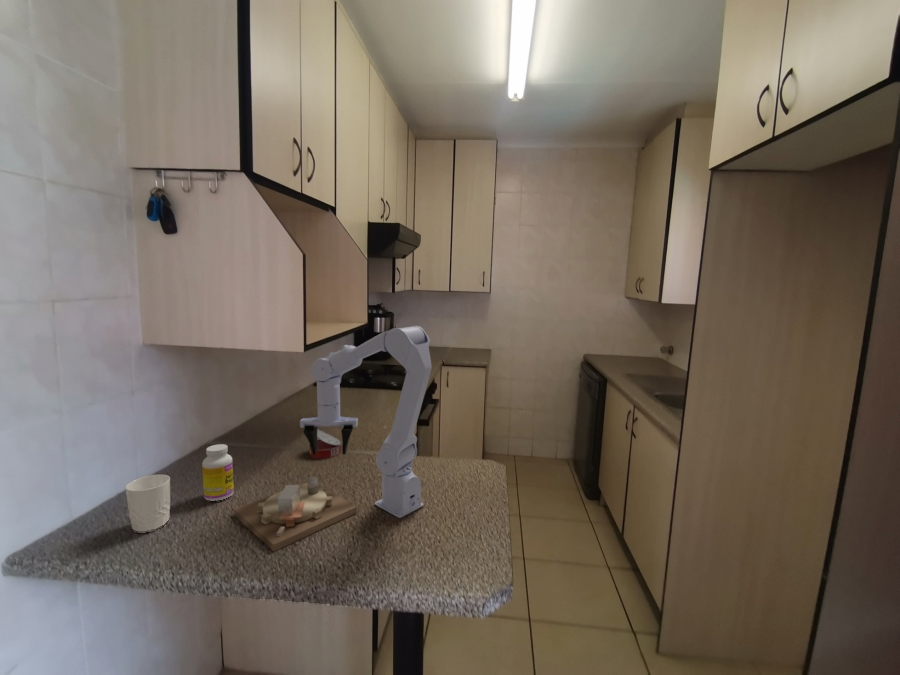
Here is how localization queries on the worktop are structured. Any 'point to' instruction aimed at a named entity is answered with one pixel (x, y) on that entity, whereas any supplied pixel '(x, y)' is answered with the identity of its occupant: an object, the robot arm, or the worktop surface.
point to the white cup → (149, 502)
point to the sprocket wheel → (309, 506)
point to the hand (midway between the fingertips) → (329, 453)
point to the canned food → (326, 446)
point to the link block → (289, 500)
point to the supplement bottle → (217, 473)
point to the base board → (282, 535)
